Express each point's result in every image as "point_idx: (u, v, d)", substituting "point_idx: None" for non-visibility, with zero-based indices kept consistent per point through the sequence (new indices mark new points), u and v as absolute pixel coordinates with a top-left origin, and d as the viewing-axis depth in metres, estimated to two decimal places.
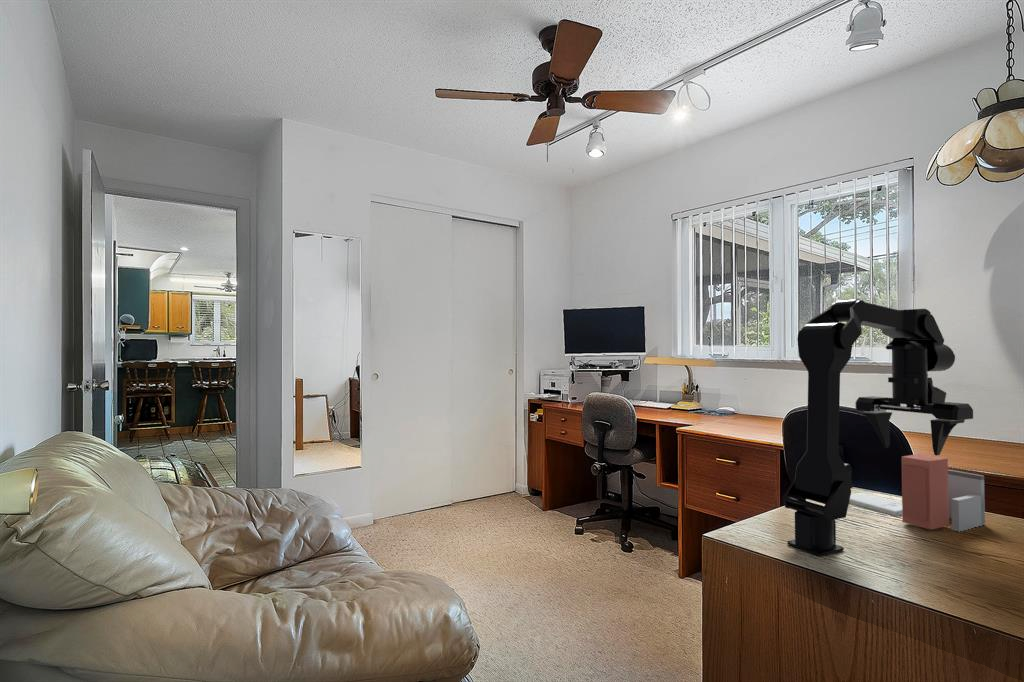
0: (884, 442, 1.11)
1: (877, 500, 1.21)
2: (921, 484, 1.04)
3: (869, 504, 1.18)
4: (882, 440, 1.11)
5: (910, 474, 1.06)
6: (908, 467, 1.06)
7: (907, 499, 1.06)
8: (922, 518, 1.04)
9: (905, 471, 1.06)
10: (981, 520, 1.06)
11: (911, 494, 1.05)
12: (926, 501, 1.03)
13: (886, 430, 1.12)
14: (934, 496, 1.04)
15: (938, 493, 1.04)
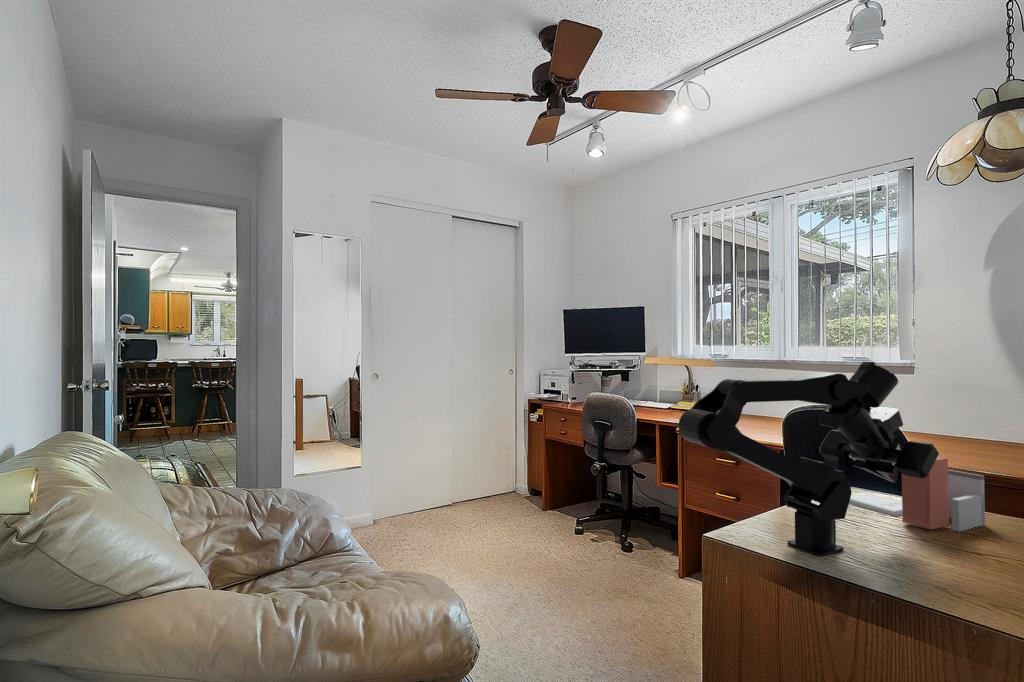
0: (889, 480, 1.02)
1: (876, 500, 1.21)
2: (921, 484, 1.04)
3: (868, 504, 1.18)
4: (886, 478, 1.02)
5: None
6: None
7: (907, 499, 1.06)
8: (922, 518, 1.04)
9: None
10: (981, 520, 1.06)
11: (911, 494, 1.05)
12: (926, 501, 1.03)
13: None
14: (934, 496, 1.04)
15: (938, 493, 1.04)
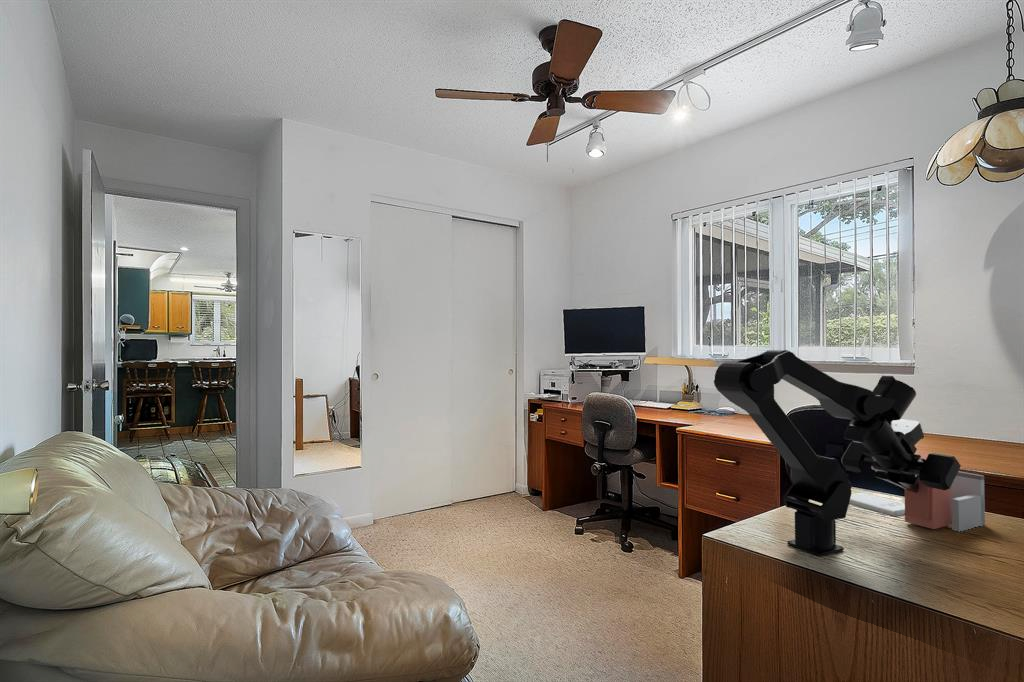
0: (910, 490, 1.05)
1: (876, 500, 1.21)
2: None
3: (867, 504, 1.18)
4: (908, 489, 1.05)
5: None
6: None
7: (910, 498, 1.06)
8: (925, 517, 1.04)
9: None
10: (981, 520, 1.06)
11: (914, 494, 1.06)
12: (929, 500, 1.04)
13: None
14: (936, 496, 1.04)
15: (941, 492, 1.05)
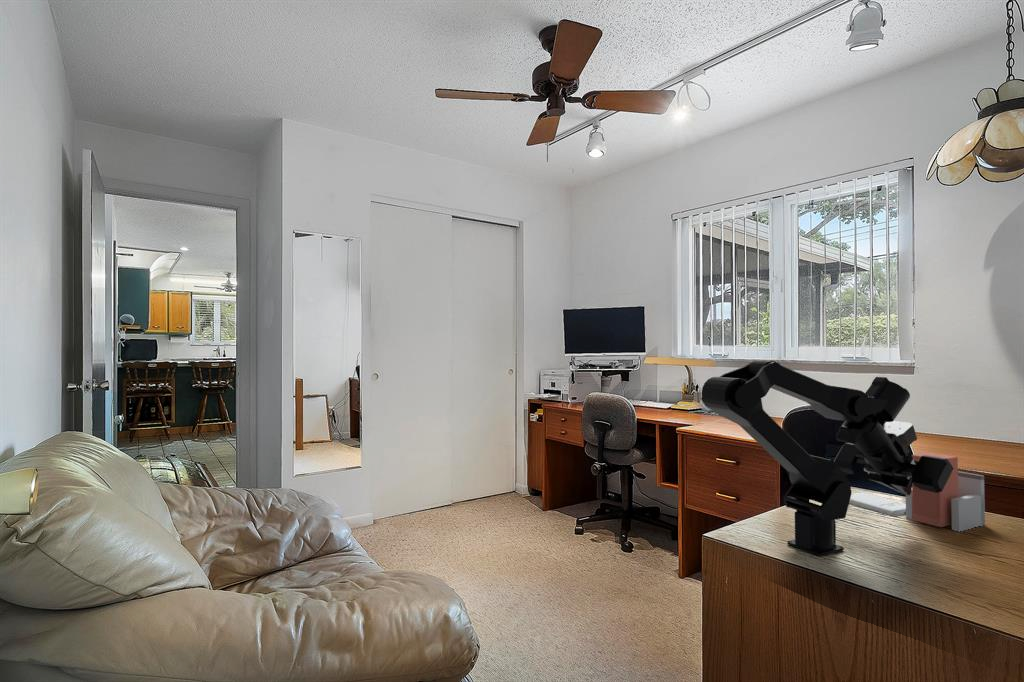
0: (903, 493, 1.04)
1: (875, 500, 1.21)
2: None
3: (867, 504, 1.18)
4: (900, 491, 1.04)
5: None
6: None
7: (918, 497, 1.07)
8: (932, 516, 1.05)
9: None
10: (981, 520, 1.06)
11: (921, 492, 1.07)
12: (937, 498, 1.05)
13: None
14: (944, 494, 1.05)
15: (948, 491, 1.06)
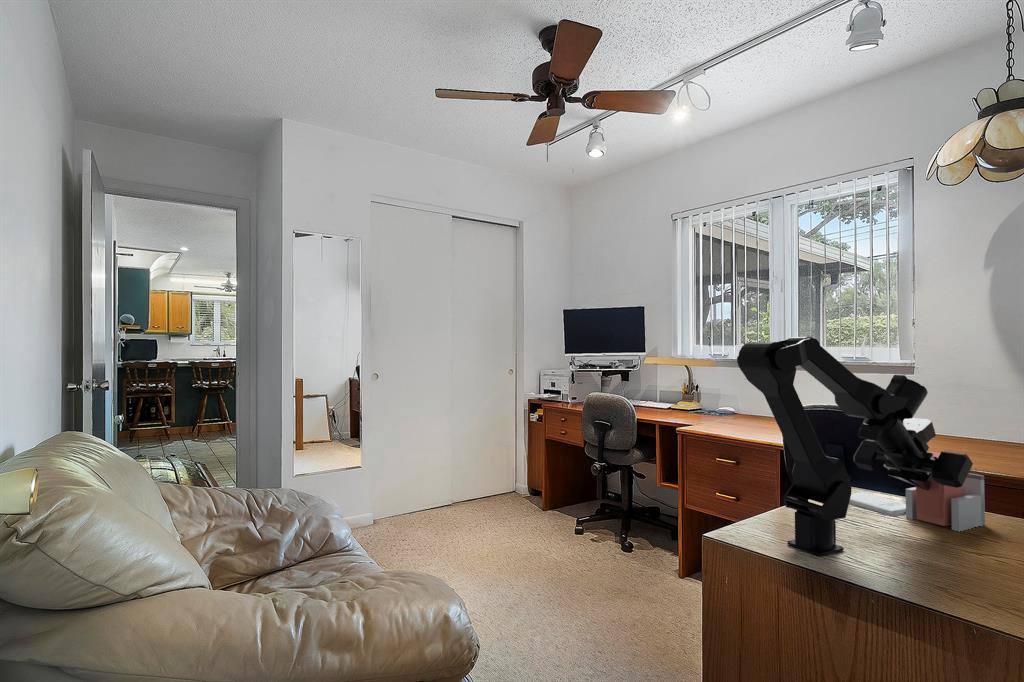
0: (922, 488, 1.06)
1: (875, 500, 1.21)
2: None
3: (866, 504, 1.19)
4: (919, 486, 1.07)
5: None
6: None
7: (921, 496, 1.08)
8: (936, 515, 1.06)
9: None
10: (981, 520, 1.06)
11: (925, 491, 1.07)
12: (940, 498, 1.05)
13: None
14: (948, 493, 1.06)
15: (952, 490, 1.06)
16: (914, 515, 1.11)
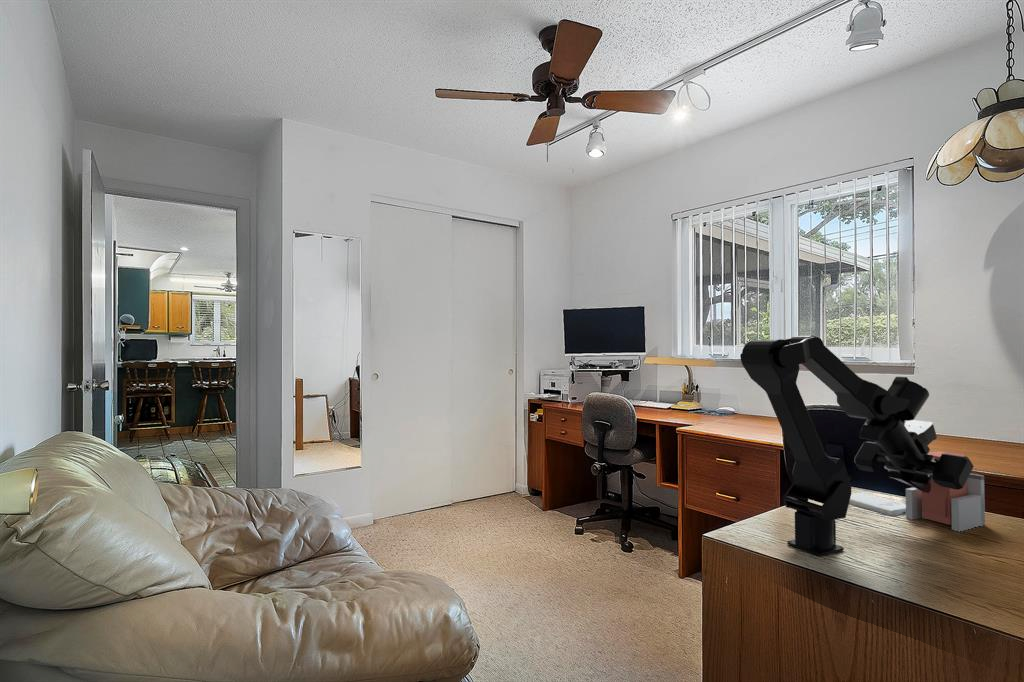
0: (922, 490, 1.07)
1: (874, 500, 1.21)
2: None
3: (865, 504, 1.19)
4: (920, 489, 1.07)
5: None
6: None
7: (927, 495, 1.09)
8: (942, 513, 1.06)
9: None
10: (981, 520, 1.06)
11: (931, 490, 1.08)
12: (946, 496, 1.06)
13: None
14: (954, 492, 1.06)
15: None
16: (914, 515, 1.11)
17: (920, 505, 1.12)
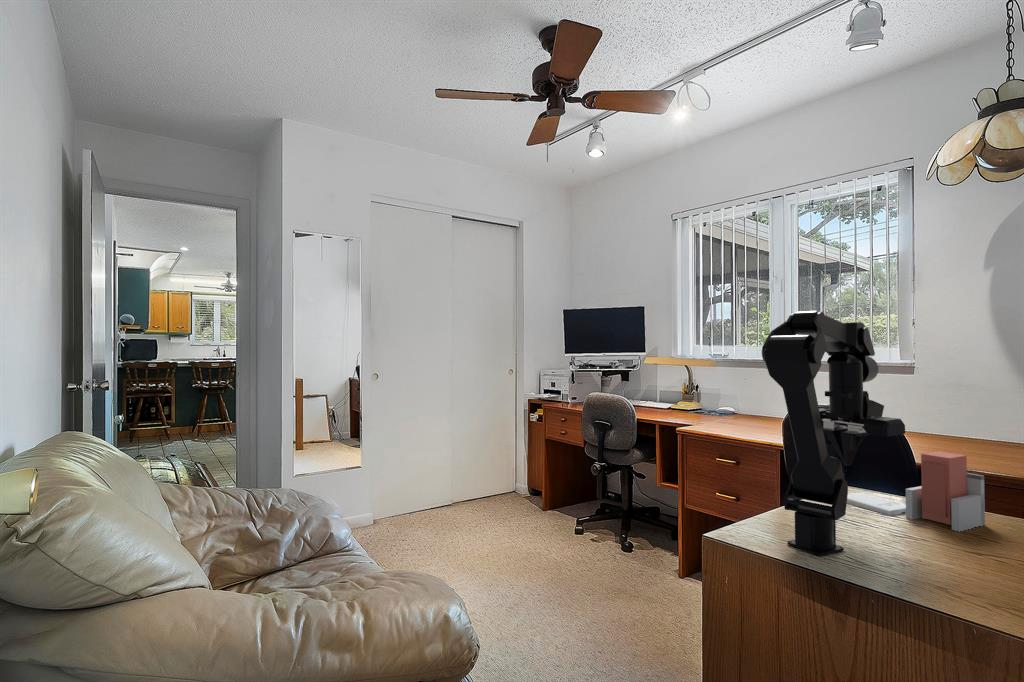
0: (843, 460, 1.06)
1: (873, 500, 1.21)
2: (941, 480, 1.07)
3: (864, 504, 1.19)
4: (842, 458, 1.07)
5: (929, 471, 1.08)
6: (928, 464, 1.09)
7: (927, 495, 1.09)
8: (942, 513, 1.06)
9: (925, 468, 1.09)
10: (981, 520, 1.06)
11: (931, 490, 1.08)
12: (946, 496, 1.06)
13: None
14: (954, 492, 1.06)
15: (957, 489, 1.07)
16: (914, 515, 1.11)
17: (920, 505, 1.12)
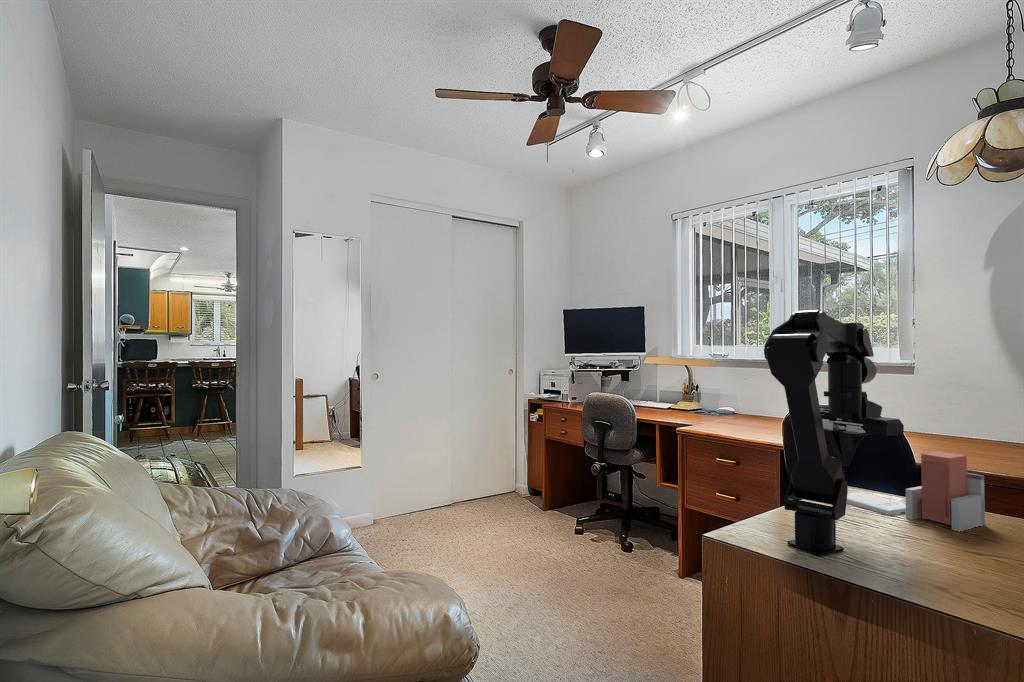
0: (842, 460, 1.07)
1: (873, 499, 1.21)
2: (941, 480, 1.07)
3: (864, 504, 1.19)
4: (840, 458, 1.07)
5: (929, 471, 1.08)
6: (928, 464, 1.09)
7: (927, 495, 1.09)
8: (942, 513, 1.06)
9: (925, 468, 1.09)
10: (981, 520, 1.06)
11: (931, 490, 1.08)
12: (946, 496, 1.06)
13: None
14: (954, 492, 1.06)
15: (957, 489, 1.07)
16: (914, 515, 1.11)
17: (920, 505, 1.12)
